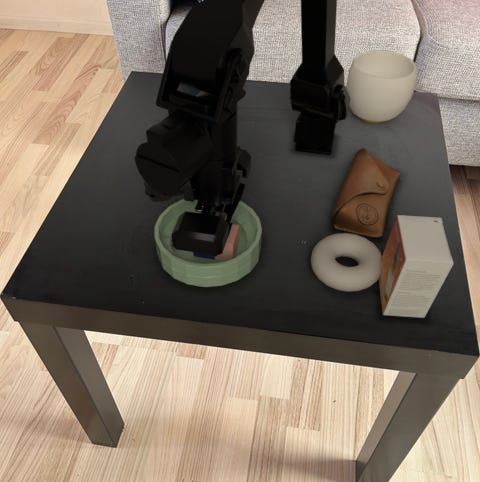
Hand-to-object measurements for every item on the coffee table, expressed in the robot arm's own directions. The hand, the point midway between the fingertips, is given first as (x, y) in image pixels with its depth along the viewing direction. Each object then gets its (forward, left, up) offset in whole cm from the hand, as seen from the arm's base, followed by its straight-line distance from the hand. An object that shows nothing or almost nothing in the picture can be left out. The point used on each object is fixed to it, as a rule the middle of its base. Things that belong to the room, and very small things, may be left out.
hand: (216, 244), depth 68 cm
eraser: (0, 0, -1) cm, 1 cm away
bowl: (+1, 0, -2) cm, 2 cm away
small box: (-26, +3, -2) cm, 26 cm away
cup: (-21, -43, -2) cm, 48 cm away
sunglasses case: (-21, -17, -2) cm, 27 cm away
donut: (-19, 0, -2) cm, 19 cm away
